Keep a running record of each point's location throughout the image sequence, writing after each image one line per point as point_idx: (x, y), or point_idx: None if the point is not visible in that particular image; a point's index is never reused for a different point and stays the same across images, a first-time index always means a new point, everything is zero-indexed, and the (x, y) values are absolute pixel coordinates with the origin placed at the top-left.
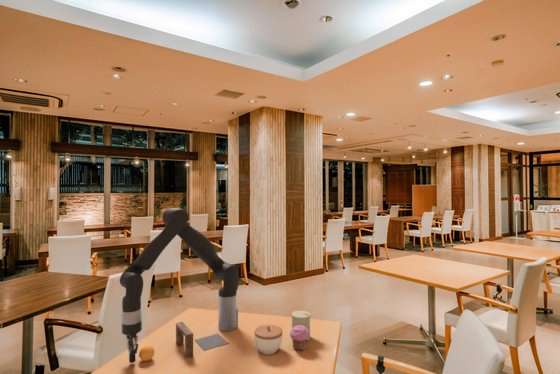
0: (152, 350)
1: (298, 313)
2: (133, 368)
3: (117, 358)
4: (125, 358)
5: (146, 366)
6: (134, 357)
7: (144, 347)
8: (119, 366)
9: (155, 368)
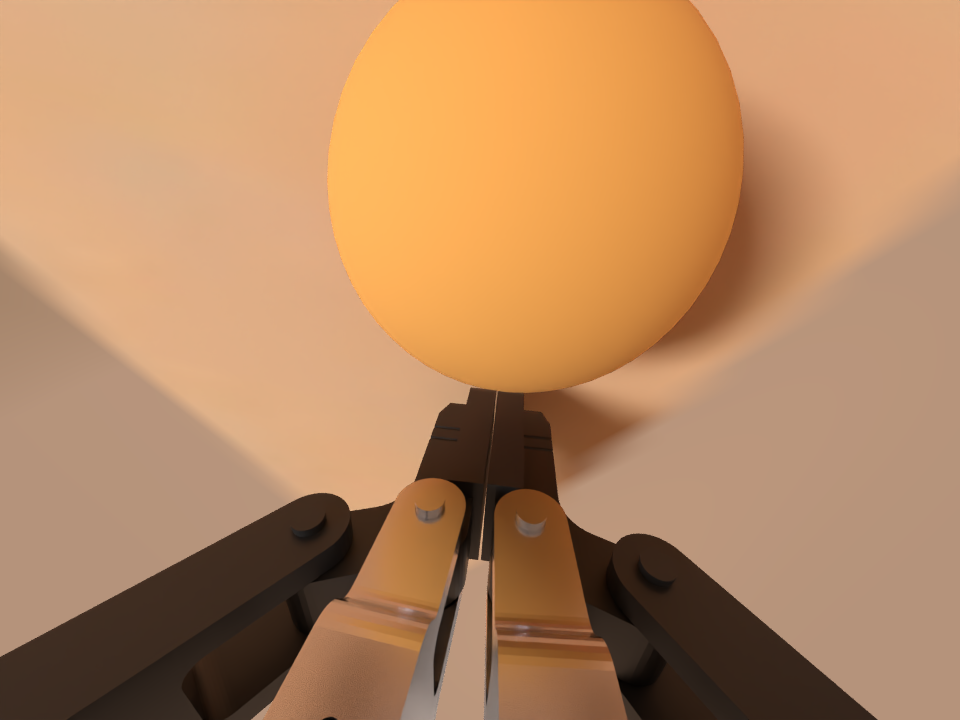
0: (715, 43)
1: None
2: (621, 418)
3: (276, 475)
4: (312, 420)
5: (720, 268)
6: (551, 458)
7: (549, 331)
8: None
9: (945, 149)
